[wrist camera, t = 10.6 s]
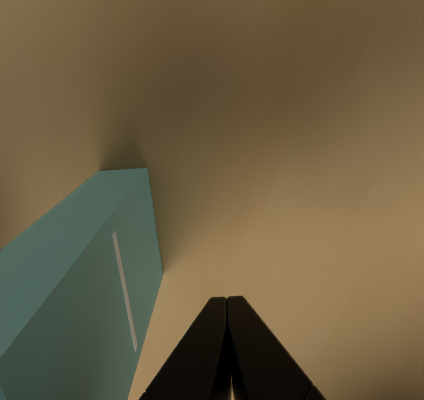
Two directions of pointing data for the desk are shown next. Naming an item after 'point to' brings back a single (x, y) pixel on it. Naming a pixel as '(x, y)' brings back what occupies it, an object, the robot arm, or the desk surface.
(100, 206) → the head tile
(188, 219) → the desk surface
